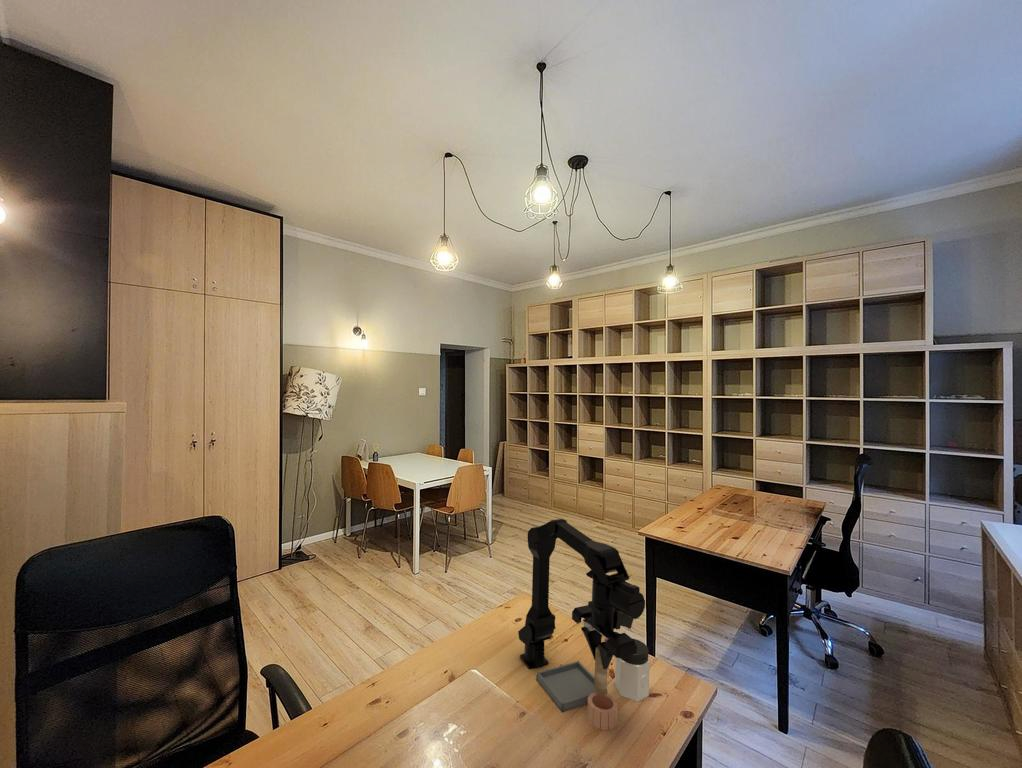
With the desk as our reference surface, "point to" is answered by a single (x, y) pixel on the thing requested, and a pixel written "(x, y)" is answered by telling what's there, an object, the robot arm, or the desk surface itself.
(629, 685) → the jar
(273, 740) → the desk surface
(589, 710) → the cup
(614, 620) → the robot arm
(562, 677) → the tray
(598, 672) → the dowel
